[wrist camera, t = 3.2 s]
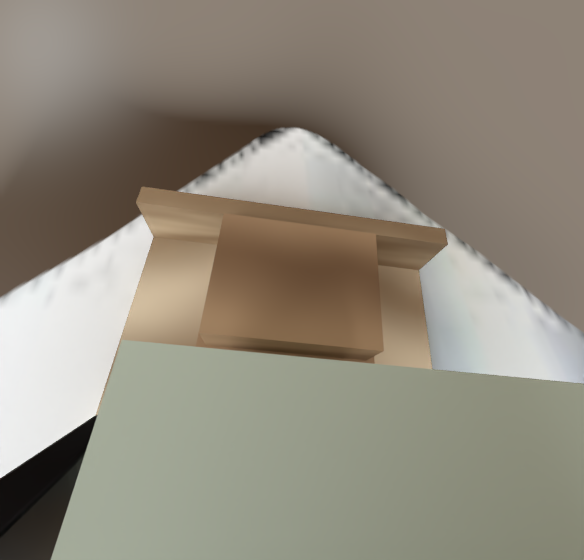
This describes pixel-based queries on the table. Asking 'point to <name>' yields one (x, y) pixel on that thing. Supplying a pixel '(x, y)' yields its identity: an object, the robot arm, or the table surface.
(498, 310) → the table surface
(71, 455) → the robot arm
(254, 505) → the tall block
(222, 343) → the offcut upper
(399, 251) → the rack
